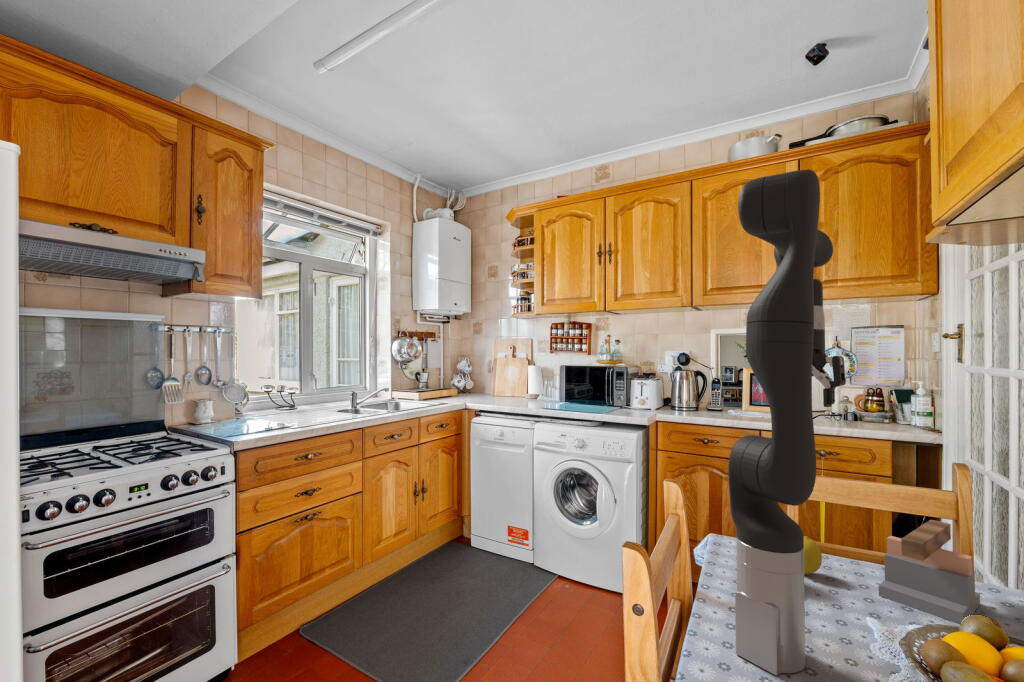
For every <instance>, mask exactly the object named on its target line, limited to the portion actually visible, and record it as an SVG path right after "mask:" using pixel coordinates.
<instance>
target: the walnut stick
mask: <svg viewBox="0 0 1024 682" xmlns="http://www.w3.org/2000/svg"><path fill="white" fill-rule="evenodd" d="M951 533H952V530H951V523H948V522H943V521H939V520H933V519H930V520H928V521H926V522H925V523H922V525H920V526H919V527H917V528H915V529H913V530H912V531H910V532H909V533H908V534H906V535H905V536H903V537H901V543H902V555H903V556H906V557H910V558H914V559H917V560H921V561H924V560H925V559H926V558H928V557H929V556H930V555H931V554H933V553H934V552H935V551H936V550H938V549H939V548H940V549H941V547H943V546H944V545H945V544H947V543H948V542H949V541H950V540H951V539H952V535H951Z"/></svg>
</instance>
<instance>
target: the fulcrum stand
mask: <svg viewBox="0 0 1024 682" xmlns="http://www.w3.org/2000/svg"><path fill="white" fill-rule="evenodd" d="M901 539H902V537H898V536H897V537H896V536H894V535H893V536H892V535H889V536H888V537H886V553H885V554H884V581H882V582H881V583H879V584H878V596H879V597H881V598H885V599H887V600H890V601H893V602H896V603H899V604H902V605H905V606H908V607H911V608H912V609H913V608H914V609H916V610H920V611H922V612H925V613H927V614H928V613H929V614H930V615H933V616H936V617H940V618H942V619H945V620H949V621H951V622H954V623H957V624H960V625H962V624H961V622H962V620H963V619H964V618H965V617H967V616H969V615H971V616H972V615H973V614H974V613H975V611H976V610H977V609H978V608H979V607H980V606H981V593H979V592H976V584H975V583H976V580H975V579H976V578H975V576H976V575H975V574H976V573H975V570H973V556H972V555H971V556H970V555H967V554H963V553H960V552H955V551H952V550H948V549H943V548H941V547H940V548H939V549H938V550H936V551H935V552H934V553H933V554H931V555H930V556H929V557H928V558H926V559H925V560H924V561H921V560H917V559H914V558H910V557H906V556H903V555H902V543H901ZM973 612H974V613H973Z"/></svg>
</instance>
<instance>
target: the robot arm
mask: <svg viewBox="0 0 1024 682" xmlns="http://www.w3.org/2000/svg"><path fill="white" fill-rule="evenodd" d="M737 199H738V200H737V212H738V218H739V222H740V225H741V227H742V229H743V230H744V231H745V232H746V233H747V234H748V235H750V236H753V237H756V238H758V239H760V240H762V241H764V242H766V243H769V244H770V245H772V246H774V248H773V257H774V261H775V263H776V266H777V269H776V270H775V271H774V273H773V274H772V276H771V277H770V279H768V280H767V282H766V284H765V285H764V286H763V288H762V289H761V290H760V291H759V293H758V294H757V296H756V297H755V299H754V300H753V302H752V304H750V305H751V306H750V307H749V308H748V311H747V314H746V329H745V331H746V332H745V354H746V358H747V362H748V364H749V366H750V368H751V371H752V372H753V374H754V377H755V378H756V380H757V382H758V383H759V386H760V388H761V389H762V391H763V393H764V395H765V398H766V400H767V403H768V405H769V410H770V418H771V420H770V422H771V437H767V436H761V435H753V434H749V435H743V436H742V437H740V438H739V439H738V440H737V441H736V442H735V443H734V444H733V446H732V448H731V451H730V453H729V458H728V469H727V470H728V471H727V472H728V487H729V488H728V490H729V504H730V505H729V507H730V515H731V518H732V521H733V523H734V525H735V532H736V534H735V535H736V591H735V593H734V596H735V597H734V601H735V603H734V609H735V612H734V613H735V617H734V619H735V654H736V655H738V656H739V657H742V658H743V659H744V660H747V661H749V662H751V663H752V664H755V666H757V667H759V668H762V669H763V670H764V671H767V672H769V673H770V674H772V675H775V676H779V674H794V673H798V672H802V670H804V669H805V667H806V621H805V620H806V613H805V612H806V609H805V607H806V606H805V573H804V532H803V531H804V530H803V529H802V527H801V526H800V525H799V523H797V522H796V521H795V520H794V519H792V518H791V517H790V516H789V515H788V514H787V513H786V512H785V511H784V510H783V508H782V507H781V506H780V504H779V503H781V504H783V505H786V506H791V507H792V506H794V507H796V506H801V505H803V504H804V503H805V502H807V501H808V499H809V498H810V497H811V495H812V493H813V491H814V488H815V484H816V479H817V454H816V453H817V452H816V441H815V440H816V439H815V429H814V418H813V417H814V414H813V388H812V387H813V385H812V384H813V377H814V378H815V379H816V380H817V381H819V382H820V384H821V385H822V386H823V387H824V388H822V390H823V391H822V393H823V394H822V396H823V407H824V408H831V407H832V406H833V405H835V403H836V394H835V393H836V392H835V391H836V388H838V387H841V386H845V385H846V384H847V380H846V370H845V359H844V356H842V355H833V356H827V354H826V322H825V321H826V320H825V319H826V318H825V312H824V294H823V293H824V289H823V288H824V287H823V283H822V281H821V280H819V279H816V278H814V275H815V268H819V267H822V266H825V265H827V264H828V263H829V262H830V260H831V259H832V257H833V254H834V246H833V245H834V244H833V243H832V240H831V238H830V237H829V235H828V234H827V233H825V232H824V231H822V230H820V229H818V228H819V219H820V218H819V217H820V202H821V201H820V200H821V189H820V180H819V177H818V174H817V173H816V172H815V171H814V170H813V169H809V168H808V169H799V170H792V171H787V172H782V173H778V174H772V175H768V176H761V177H757V178H754V179H751V180H749V181H747V182H746V183H744V185H742V186H741V188H740V192H739V195H738V198H737ZM827 363H828V364H829V367H832V375H833V376H832V377H833V379H831V377H830V375H829V373H828V372H827V371H826V370H825V369H824V367H825V366H826V365H827Z"/></svg>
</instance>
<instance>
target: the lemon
mask: <svg viewBox="0 0 1024 682" xmlns="http://www.w3.org/2000/svg"><path fill="white" fill-rule="evenodd" d="M803 536H804V535H803ZM822 559H823V558H822V552H821V549H820V547H819V545H818V544H817V542H816V541H815V540H813V539H812V538H809V537H808V535H807V536H806V535H805V536H804V575H807V576H808V575H810V574H811V573H815V572H817V571H819V570H820V568H821V566H822V562H823V561H822Z"/></svg>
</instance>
